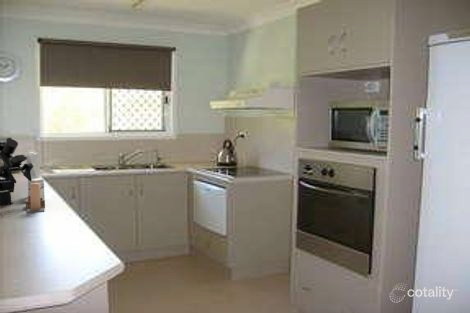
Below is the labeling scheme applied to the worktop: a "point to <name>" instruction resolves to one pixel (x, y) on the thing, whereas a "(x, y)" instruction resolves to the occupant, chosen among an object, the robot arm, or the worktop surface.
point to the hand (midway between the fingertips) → (23, 181)
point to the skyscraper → (34, 160)
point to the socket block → (28, 203)
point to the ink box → (40, 186)
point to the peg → (35, 196)
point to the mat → (35, 210)
